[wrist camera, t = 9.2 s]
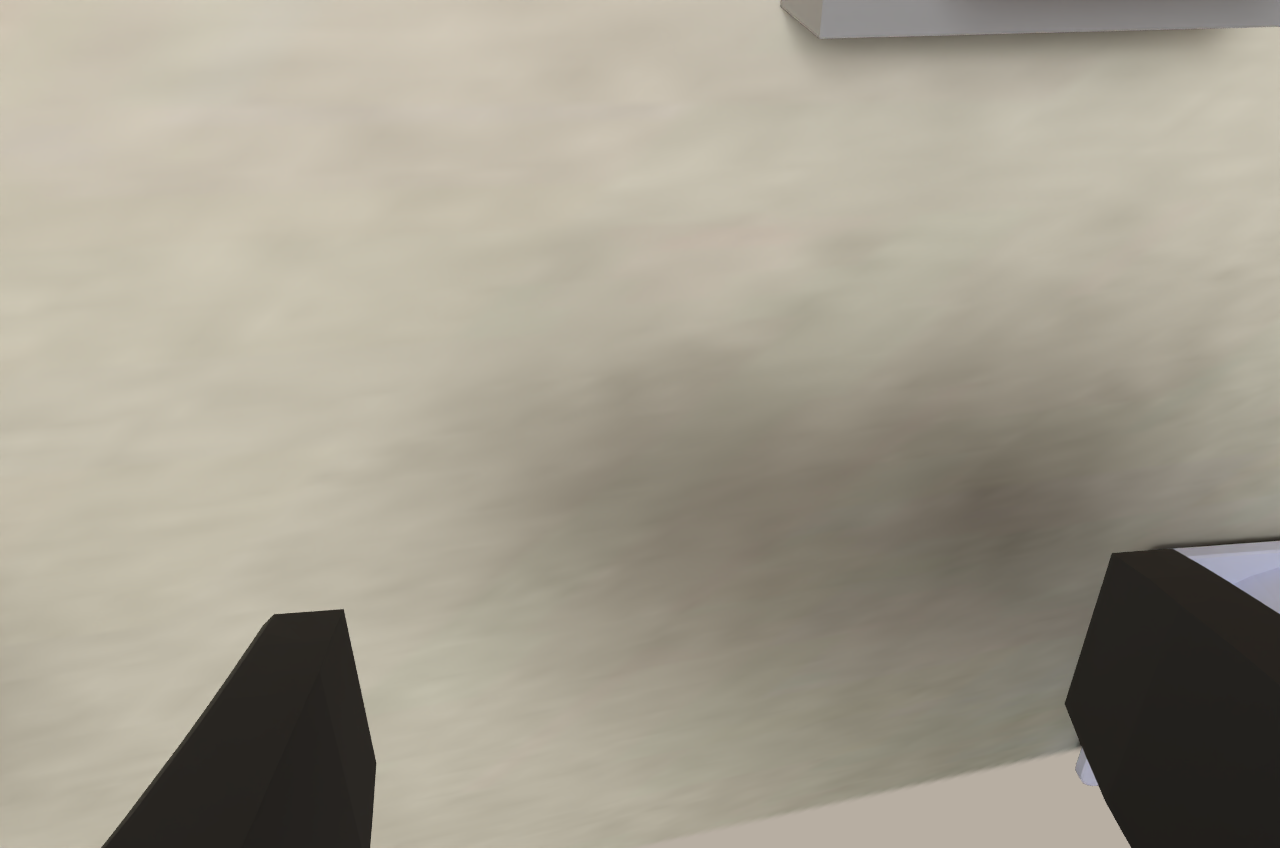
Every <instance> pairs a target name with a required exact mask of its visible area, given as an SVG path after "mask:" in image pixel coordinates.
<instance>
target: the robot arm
mask: <svg viewBox="0 0 1280 848" xmlns="http://www.w3.org/2000/svg"><path fill="white" fill-rule="evenodd" d="M1065 706H1066V708H1067V711H1068V713H1069V716H1070V718H1071V721H1072V723H1073V726H1074V728H1075V731H1076V733H1077V736H1078V738H1079V741H1080V743H1081V746H1082V749H1081V752H1080V755H1079V757H1078V761H1077V763H1076V772H1077V774H1078V776H1079V778H1080V779H1081V781H1082V782H1083V783H1084V784H1087V785H1090V786H1098V785H1099V787H1100V790H1101V792H1102V795H1103V797H1104V799H1105V801H1106V803H1107V805H1108V807H1109V809H1110V810H1111V812H1112V814H1113V816H1114V818H1115V820H1116V821H1117V823H1118V825H1119V826H1120V829H1121V830H1122V832H1123V834H1124V836H1125V837H1126V839H1127V841H1128V843H1129V844H1130V846H1131V848H1280V541H1270V542H1256V543H1243V544H1229V545H1215V546H1202V547H1188V548H1174V549H1163V550H1149V551H1135V552H1122V553H1112V555H1111V558H1110V561H1109V565H1108V568H1107V571H1106V574H1105V577H1104V580H1103V584H1102V587H1101V590H1100V593H1099V596H1098V600H1097V603H1096V606H1095V609H1094V612H1093V615H1092V619H1091V622H1090V625H1089V628H1088V631H1087V634H1086V638H1085V641H1084V644H1083V647H1082V650H1081V654H1080V657H1079V660H1078V663H1077V666H1076V669H1075V673H1074V676H1073V679H1072V682H1071V685H1070V688H1069V692H1068V695H1067V698H1066V701H1065ZM375 774H376V760H375V755H374V750H373V745H372V741H371V736H370V731H369V727H368V722H367V717H366V713H365V708H364V703H363V698H362V694H361V689H360V684H359V680H358V675H357V670H356V665H355V661H354V656H353V651H352V647H351V642H350V637H349V633H348V628H347V623H346V618H345V614H344V609H341V610H328V611H314V612H300V613H287V614H274V615H273V616H272V617H271V618H270V619H269V620H268V621H267V622H266V623H265V624H264V625H263V626H262V628H261V629H260V631H259V632H258V634H257V635H256V637H255V638H254V640H253V641H252V643H251V644H250V646H249V647H248V649H247V650H246V652H245V653H244V654H243V656H242V657H241V659H240V660H239V662H238V663H237V665H236V666H235V668H234V669H233V671H232V672H231V673H230V675H229V676H228V678H227V679H226V681H225V682H224V684H223V685H222V686H221V688H220V689H219V691H218V692H217V694H216V695H215V696H214V698H213V699H212V701H211V702H210V704H209V705H208V706H207V708H206V709H205V711H204V712H203V713H202V715H201V716H200V718H199V719H198V720H197V722H196V723H195V725H194V726H193V727H192V729H191V730H190V732H189V733H188V734H187V736H186V737H185V738H184V740H183V741H182V743H181V744H180V745H179V747H178V748H177V749H176V751H175V752H174V753H173V755H172V756H171V757H170V759H169V760H168V761H167V763H166V764H165V765H164V767H163V768H162V769H161V771H160V772H159V773H158V775H157V776H156V777H155V779H154V780H153V781H152V783H151V784H150V785H149V786H148V788H147V789H146V790H145V792H144V793H143V794H142V796H141V797H140V798H139V800H138V801H137V802H136V804H135V805H134V806H133V808H132V809H131V810H130V812H129V813H128V814H127V816H126V817H125V818H124V820H123V821H122V822H121V823H120V825H119V826H118V827H117V828H116V830H115V831H114V832H113V834H112V835H111V836H110V837H109V839H108V840H107V841H106V842H105V844H104V845H103V846H102V847H101V848H370V842H371V830H372V817H373V802H374V788H375Z"/></svg>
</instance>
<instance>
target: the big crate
mask: <svg viewBox="0 0 1280 848" xmlns="http://www.w3.org/2000/svg"><path fill="white" fill-rule="evenodd" d="M781 7H782V8H783V9H784V10H785V11H787V12H788V13H789V14H790V15H791V16H793V17H794V18H795V19H796V20H798V21H799V22H800V23H801V24H802V25H804V26H805V27H806V28H807V29H808V30H810V31H811V32H812V33H813V34H814V35H816V36H817V37H818V38H819V39H826V38H864V37H902V36H941V35H979V34H1017V33H1056V32H1094V31H1132V30H1171V29H1209V28H1247V27H1280V0H781Z"/></svg>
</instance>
